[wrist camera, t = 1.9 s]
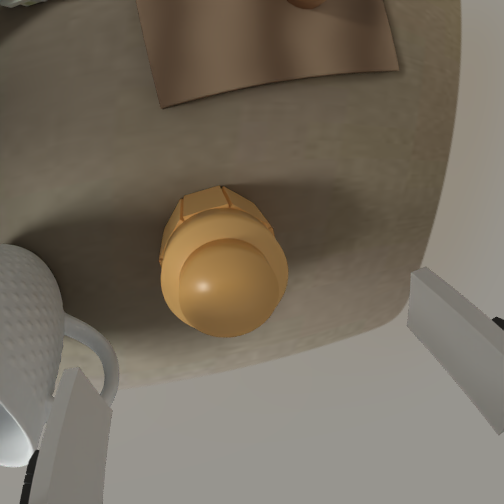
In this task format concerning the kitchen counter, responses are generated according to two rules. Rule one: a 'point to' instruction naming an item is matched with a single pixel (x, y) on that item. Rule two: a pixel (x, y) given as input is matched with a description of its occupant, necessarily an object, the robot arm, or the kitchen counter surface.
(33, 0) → the electric scrub brush
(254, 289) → the acorn cap nut
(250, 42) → the post board
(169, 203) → the kitchen counter surface
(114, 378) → the mug
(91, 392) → the robot arm
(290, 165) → the kitchen counter surface
